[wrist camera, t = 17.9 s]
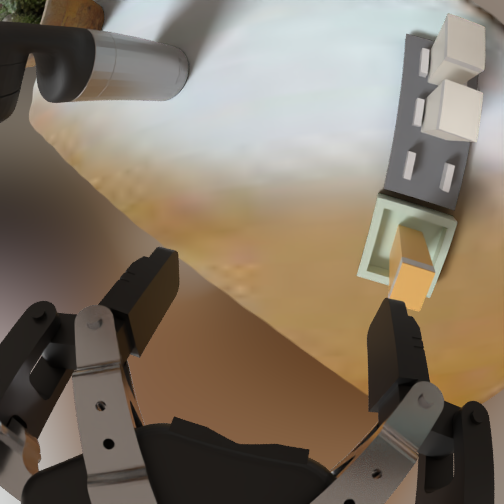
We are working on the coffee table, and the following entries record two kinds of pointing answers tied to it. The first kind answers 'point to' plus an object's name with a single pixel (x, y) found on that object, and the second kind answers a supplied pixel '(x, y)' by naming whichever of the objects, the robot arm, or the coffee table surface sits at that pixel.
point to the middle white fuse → (453, 112)
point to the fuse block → (423, 138)
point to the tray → (384, 230)
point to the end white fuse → (457, 51)
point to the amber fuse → (410, 268)
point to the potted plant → (53, 14)
